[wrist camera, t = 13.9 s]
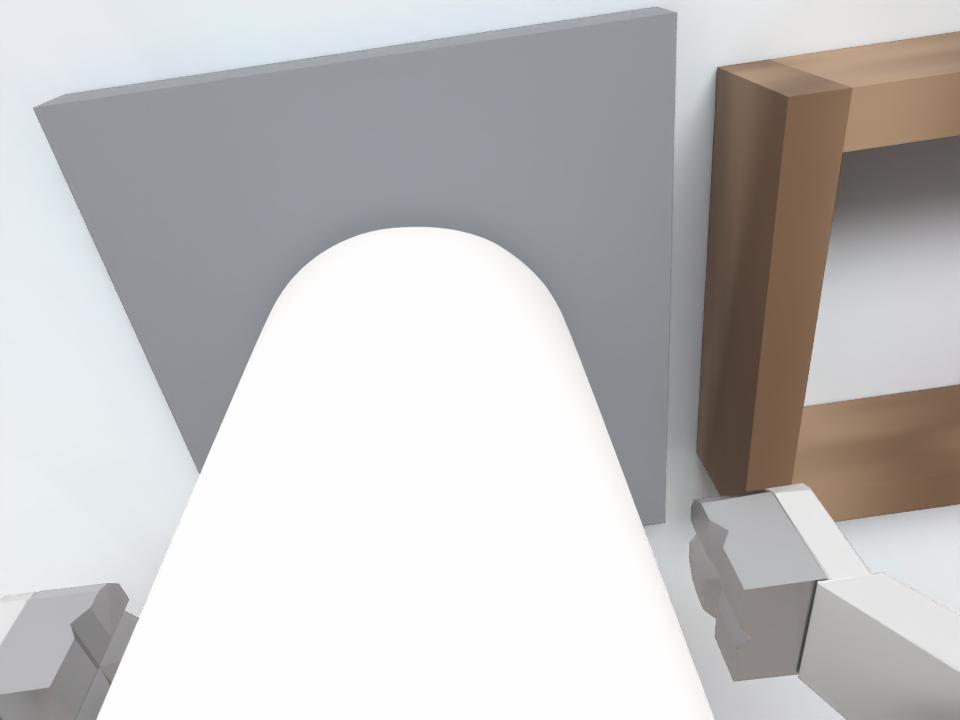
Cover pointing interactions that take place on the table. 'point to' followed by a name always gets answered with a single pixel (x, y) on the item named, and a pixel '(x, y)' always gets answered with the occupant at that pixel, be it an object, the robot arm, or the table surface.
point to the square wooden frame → (813, 279)
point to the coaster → (395, 197)
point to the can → (410, 516)
